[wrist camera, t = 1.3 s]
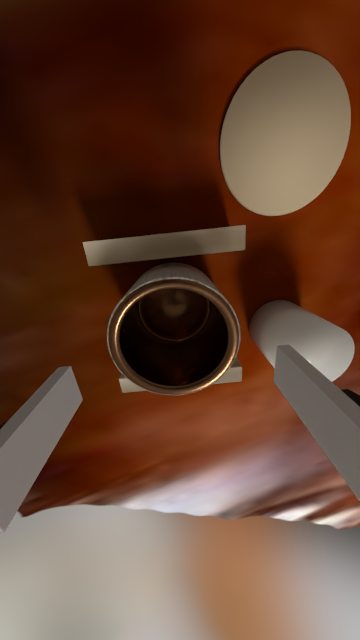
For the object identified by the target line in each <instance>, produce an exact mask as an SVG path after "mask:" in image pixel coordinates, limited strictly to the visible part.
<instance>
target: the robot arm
mask: <svg viewBox="0 0 360 640" xmlns="http://www.w3.org/2000/svg"><path fill="white" fill-rule="evenodd" d="M274 383H275V384H276V385H277V387H278V388H279V390H280V391H281V392H282V394H283V395H284V397H285V398H286V399H287V401H288V402H289V404H290V405H291V406H292V408H293V409H294V410H295V412H296V413H297V415H298V416H299V417H300V419H301V420H302V422H303V423H304V424H305V426H306V427H307V429H308V430H309V431H310V433H311V434H312V436H313V437H314V438H315V440H316V441H317V443H318V444H319V445H320V447H321V448H322V450H323V451H324V452H325V454H326V455H327V456H328V458H329V459H330V461H331V462H332V463H333V465H334V466H335V468H336V469H337V470H338V472H339V473H340V475H341V476H342V477H343V479H344V480H345V482H346V483H347V484H348V486H349V487H350V489H351V490H352V491H353V493H354V494H355V495H356V497H357V498H358V500H359V501H360V395H358V394H356V393H354V392H352V391H350V390H348V389H345V390H340V389H339V388H338V387H337V386H336V385H334V384H333V383H332V382H331V381H330V380H329V379H328V378H327V377H325V376H324V375H323V374H322V373H321V372H320V371H319V370H317V369H316V368H315V367H314V366H313V365H312V364H311V363H310V362H308V361H307V360H306V359H305V358H304V357H303V356H302V355H300V354H299V353H298V352H297V351H296V350H295V349H294V348H293V347H291V346H290V345H279V346H277V350H276V361H275V372H274ZM82 400H83V399H82V396H81V393H80V391H79V388H78V385H77V382H76V379H75V377H74V374H73V371H72V368H71V366H65V367H58V369H57V370H56V371H55V372H54V373H53V374H52V375H51V376H50V377H49V378H48V379H47V380H46V381H45V382H44V383H43V385H42V386H41V387H40V388H39V389H38V390H37V391H36V392H35V393H34V394H33V395H32V396H31V397H30V398H29V399H28V400H27V402H26V403H25V404H24V405H23V406H22V407H21V408H20V409H19V410H18V411H17V412H16V413H15V414H14V415H13V416H12V417H11V419H10V420H9V421H8V422H4V423H3V424H2V425H0V532H5V530H6V529H7V527H8V525H9V524H10V522H11V520H12V519H13V517H14V515H15V513H16V512H17V510H18V508H19V507H20V505H21V503H22V502H23V500H24V498H25V497H26V495H27V493H28V491H29V490H30V488H31V486H32V485H33V483H34V481H35V480H36V478H37V476H38V475H39V473H40V471H41V469H42V468H43V466H44V464H45V463H46V461H47V459H48V458H49V456H50V454H51V453H52V451H53V449H54V447H55V446H56V444H57V442H58V441H59V439H60V437H61V436H62V434H63V432H64V431H65V429H66V427H67V425H68V424H69V422H70V420H71V419H72V417H73V415H74V414H75V412H76V410H77V409H78V407H79V405H80V403H81V402H82Z"/></svg>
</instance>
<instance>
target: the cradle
mask: <svg viewBox="0 0 360 640" xmlns="http://www.w3.org/2000/svg"><path fill="white" fill-rule="evenodd" d="M245 235H246V225H241V226H231V227H222V228H213V229H203V230H194V231H184V232H175V233H165V234H156V235H147V236H137V237H128V238H118V239H109V240H99V241H90V242H83V246H84V249H85V253H86V257H87V261H88V264H89V266H96V265H105V264H115V263H124V262H134V261H143V260H153V259H163V258H172V257H182V256H191V255H201V254H210V253H220V252H229V251H239V250H245ZM119 381H120V385H121V389H122V392H123V393H125V392H135V391H146V390H145V389H143V388H140V387H139V386H137V385H135V384H134V383H132V382H131V381H129V380H128V379H127V378H126V377H125V376H124V375H123V374H122V373H121V375H120V378H119ZM238 381H242V366H241V364H240V362H239V360H238V359H237V357H236V358H235V360H234V362H233V364H232V365H231V367H230V368H229V370H228V371H227V372H226V373H225V374H224V375H223V376H222V377H221V378H220V379H219V380H218V381H216V382H215V383H213V384H218V383H228V382H238Z"/></svg>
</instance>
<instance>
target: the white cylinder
mask: <svg viewBox="0 0 360 640" xmlns="http://www.w3.org/2000/svg"><path fill="white" fill-rule="evenodd" d="M249 333H250V337H251V339H252V340H253V341H254V343H255V344H256V345H257V347H258V348H259V349H260V350H261V352H262V353H263V354H264V355H265V357H266V358H267V359H268V360H269V362H270V363H271V364H272V366H273V367H274V368H275V361H276V350H277V346H279V345H290V346H291V347H293V348H294V349H295V350H296V351H297V352H298V353H299V354H300V355H302V356H303V357H304V358H305V359H306V360H307V361H308V362H310V363H311V364H312V365H313V366H314V367H315V368H316V369H317V370H319V371H320V372H321V373H322V374H323V375H324V376H325V377H327V378H328V379H329V380H330V381H331V382H332V381H334V380H335V379H337V378H338V377H339V376H340V375H342V374H343V373H344V372H345V370H346V369H347V368H348V366H349V365H350V363H351V361H352V359H353V356H354V342H353V339H352V337H351V336H350V335H349V333H348V332H346V331H345V330H343V329H342V328H340V327H338V326H336V325H334V324H332V323H330V322H328V321H326V320H324V319H323V318H321V317H319V316H317V315H315V314H313V313H311V312H309V311H307V310H305V309H304V308H302V307H300V306H298V305H296V304H294V303H292V302H290V301H286V300H275V301H271V302H269V303H266V304H265V305H263V306H262V307H260V308H259V309H258V310H257V311H256V312H255V313H254V315H253V317H252V318H251V321H250V324H249Z"/></svg>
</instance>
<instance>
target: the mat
mask: <svg viewBox="0 0 360 640" xmlns="http://www.w3.org/2000/svg"><path fill="white" fill-rule="evenodd" d="M350 125H351V111H350V102H349V97H348V93H347V90H346V87H345V84H344V82H343V80H342V78H341V76H340V74H339V73H338V72H337V70H336V69H335V68H334V66H332V65H331V64H330V63H329V62H328V61H327V60H326V59H324V58H323V57H321V56H319V55H317V54H314V53H312V52H307V51H289V52H284V53H281V54H278V55H276V56H273V57H271V58H270V59H268V60H266V61H265V62H263V63H262V64H261V65H259V66H258V67H257V68H255V69H254V70H253V71H252V72H251V74H250V75H249V76H248V77H247V78H246V79H245V80H244V82H243V83H242V84H241V86H240V87H239V89H238V90H237V92H236V94H235V95H234V97H233V99H232V101H231V104H230V106H229V108H228V111H227V113H226V116H225V119H224V123H223V127H222V131H221V138H220V163H221V168H222V173H223V176H224V179H225V182H226V184H227V186H228V189H229V190H230V192H231V193H232V195H233V196H234V198H235V199H236V200H237V201H238V202H239V203H240V204H241V205H242V206H243V207H245V208H246V209H248V210H250V211H252V212H254V213H257V214H260V215H265V216H278V215H284V214H288V213H291V212H294V211H296V210H298V209H300V208H302V207H304V206H305V205H307V204H308V203H310V202H311V201H312V200H313V199H315V198H316V197H317V196H318V195H319V194H320V193H321V192H322V191H323V190H324V189H325V187H326V186H327V185H328V184H329V182H330V181H331V179H332V178H333V176H334V175H335V173H336V171H337V169H338V168H339V166H340V163H341V161H342V159H343V156H344V153H345V150H346V147H347V143H348V139H349V133H350Z"/></svg>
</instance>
